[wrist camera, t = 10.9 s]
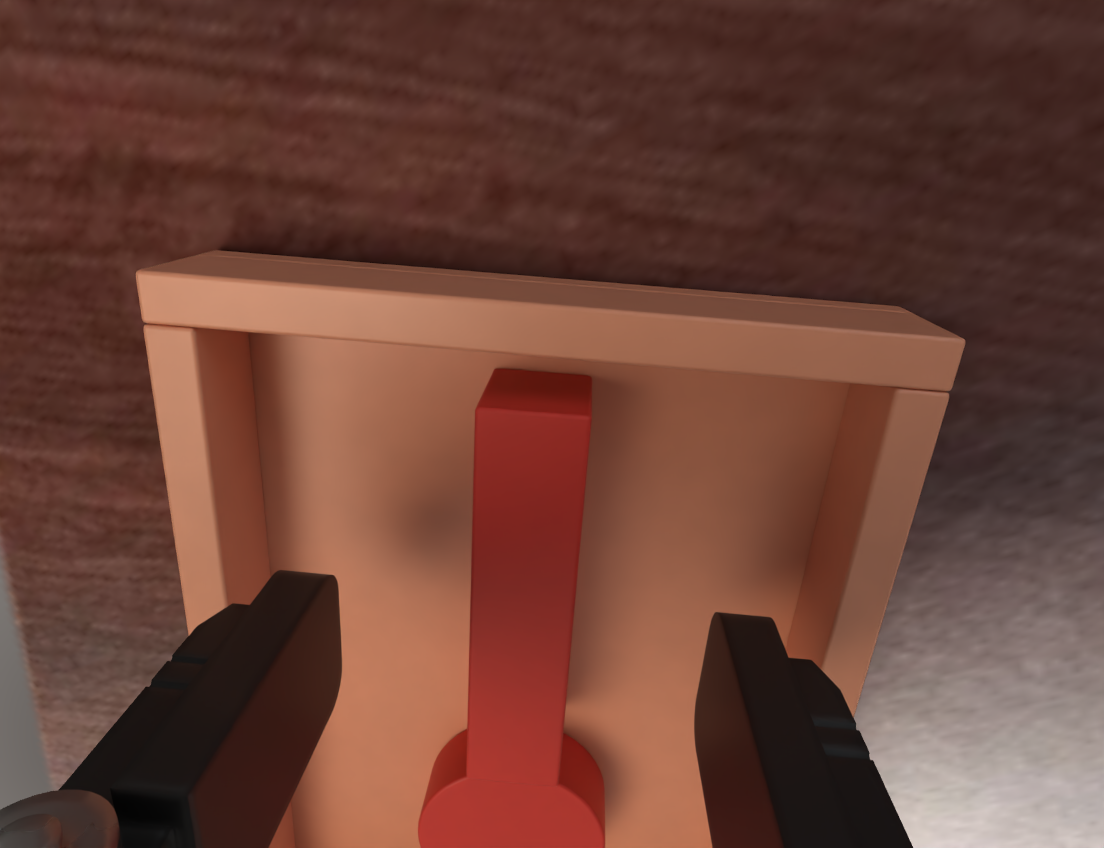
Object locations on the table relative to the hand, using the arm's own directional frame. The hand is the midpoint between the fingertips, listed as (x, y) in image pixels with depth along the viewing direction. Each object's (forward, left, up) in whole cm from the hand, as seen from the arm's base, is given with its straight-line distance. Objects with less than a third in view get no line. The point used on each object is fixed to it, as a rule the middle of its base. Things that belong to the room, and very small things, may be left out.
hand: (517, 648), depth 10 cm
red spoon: (+2, -1, -2) cm, 3 cm away
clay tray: (+2, -1, -3) cm, 3 cm away
